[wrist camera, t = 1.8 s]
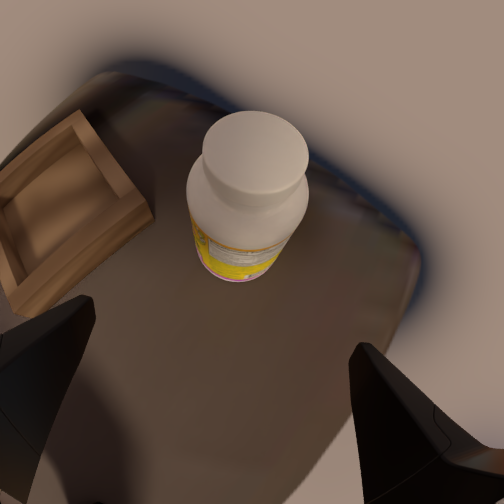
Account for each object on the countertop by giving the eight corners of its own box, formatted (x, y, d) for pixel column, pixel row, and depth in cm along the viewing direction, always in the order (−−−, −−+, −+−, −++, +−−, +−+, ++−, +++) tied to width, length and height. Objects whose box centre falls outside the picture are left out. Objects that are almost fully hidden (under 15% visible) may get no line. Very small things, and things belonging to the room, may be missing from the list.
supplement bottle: (209, 199, 25) (208, 84, 13) (283, 219, 25) (335, 117, 13) (185, 272, 23) (155, 191, 11) (266, 293, 23) (321, 234, 11)
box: (155, 221, 24) (146, 200, 20) (38, 319, 20) (13, 313, 16) (90, 132, 26) (79, 109, 23) (-5, 211, 22) (-24, 195, 19)
